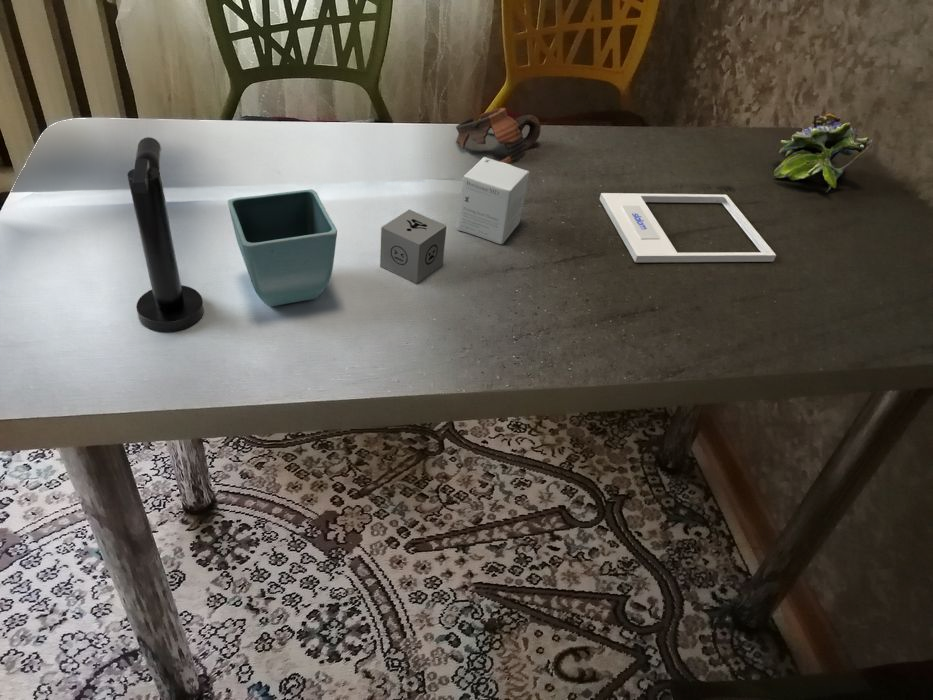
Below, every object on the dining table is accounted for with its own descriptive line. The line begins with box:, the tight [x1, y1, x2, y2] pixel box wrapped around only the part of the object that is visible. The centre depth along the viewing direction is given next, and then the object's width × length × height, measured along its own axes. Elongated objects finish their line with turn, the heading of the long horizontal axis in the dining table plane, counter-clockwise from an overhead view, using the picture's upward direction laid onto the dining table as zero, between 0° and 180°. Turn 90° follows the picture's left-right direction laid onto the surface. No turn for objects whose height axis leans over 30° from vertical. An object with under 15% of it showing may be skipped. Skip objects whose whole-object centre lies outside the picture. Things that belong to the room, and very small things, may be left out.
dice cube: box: [379, 209, 447, 285], centre depth 81 cm, size 5×5×5 cm
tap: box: [126, 136, 205, 333], centre depth 69 cm, size 11×6×16 cm, turn 14°
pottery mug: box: [455, 107, 542, 165], centre depth 103 cm, size 12×10×8 cm
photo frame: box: [599, 192, 777, 263], centre depth 94 cm, size 15×1×18 cm
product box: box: [457, 156, 530, 245], centre depth 88 cm, size 6×6×7 cm
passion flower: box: [773, 113, 874, 193], centre depth 107 cm, size 11×11×12 cm
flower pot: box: [227, 189, 338, 307], centre depth 74 cm, size 9×9×9 cm
